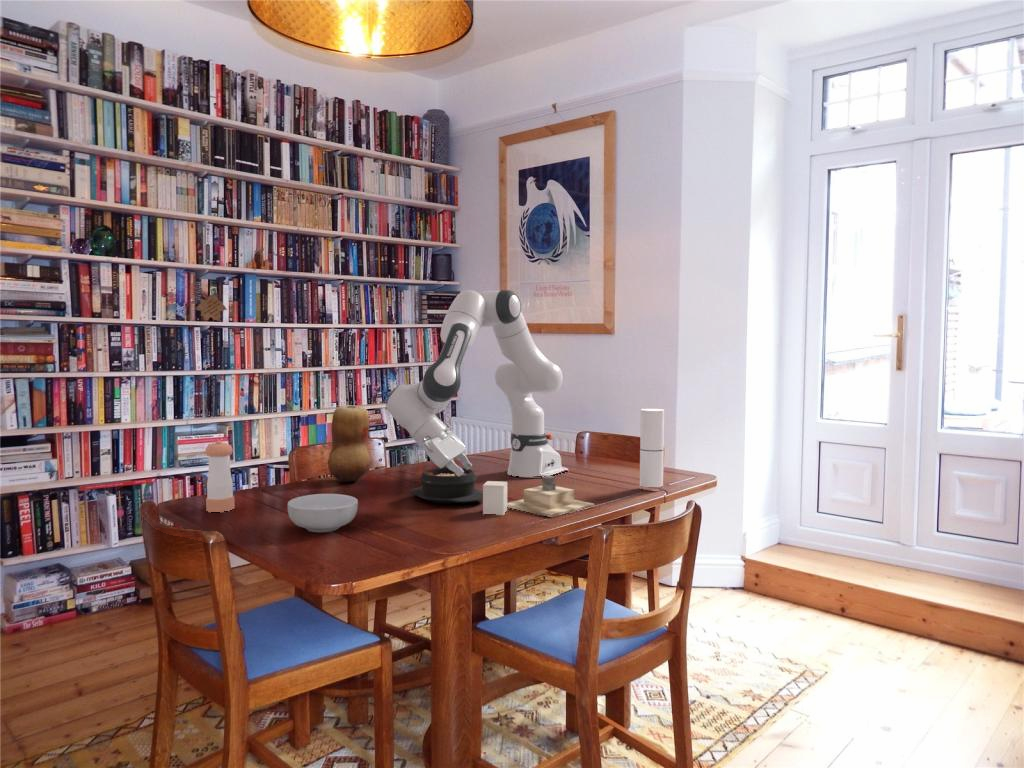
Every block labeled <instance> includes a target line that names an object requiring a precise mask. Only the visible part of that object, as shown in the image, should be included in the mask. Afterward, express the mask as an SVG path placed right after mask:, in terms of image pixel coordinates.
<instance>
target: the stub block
mask: <svg viewBox="0 0 1024 768" xmlns="http://www.w3.org/2000/svg"><path fill="white" fill-rule="evenodd" d="M541 479H542V480H541V481H542V482H541V483H542V485H538V486H534V487H530V488H525V489H523V498H522V499H518V500H513V501H509V502H508V501H507V507H508V508H507V509H510V508H512V509H511V510H514V509H517V510H516V511H518V510H521V511H520V512H522V511H526V512H530V513H534V514H533V515H535V514H538V515H537V516H539V515H543V516H547V517H555V516H558V515H562V514H565V513H569V512H573V511H576V510H579V509H582V508H586V507H589V506H594V507H595V503H592V502H587V501H583V500H578V499H575V489H573V488H568V487H562V486H557V485H556V481H557V480H556V476H546V477H542V478H541ZM526 512H525V513H526ZM530 513H529V514H530ZM543 516H542V517H543ZM547 517H546V518H547ZM555 518H556V517H555Z"/></svg>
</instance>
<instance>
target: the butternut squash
mask: <svg viewBox="0 0 1024 768" xmlns="http://www.w3.org/2000/svg"><path fill="white" fill-rule="evenodd" d="M332 415H333V416H332V419H331V430H330V431H331V445H332V446H331V451H330V453H329V456H328V459H327V468H328V471H329V473H330V474H331V476H332V477H334V478H335V479H336V480H337V481H338V482H340V483H350V482H357V481H358V480H359V479H361V478H362V477H363V476H365V475H366V473H367V472H368V471H369V469H370V467H371V457H370V452H369V450H368V446H367V444H368V443H367V441H368V437H369V436H368V435H369V433H370V415H369V411H368V409H367V408H365V407H364V406H358V405H351V404H347V405H344V404H343V405H339V406H338V407H336V408H335V410H334V411H333V414H332Z"/></svg>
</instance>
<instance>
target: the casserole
mask: <svg viewBox="0 0 1024 768" xmlns="http://www.w3.org/2000/svg"><path fill="white" fill-rule="evenodd" d="M461 468H462V469H463V470H464V473H463V474H462V475H461V476H457V475H456V474H455V472H453V471H451V470H450V469H448V468H447V467H446V466H444V467H443V468H439V467H434V468H430V469H426V470H424V471H422V473H421V476H420V477H419V479H418V480H419V482H420V483H421V486H418V487H413V488H412V489H410V490H409V493H410V494H414V495H415V496H417V497H418V498H421V499H424V500H427V501H428V502H431V503H436V504H442V503H443V504H444V505H445V504H446V505H447V504H449V505H450V503H452V504H460V503H472V502H478V501H482V500H483V491H480V490H478V489H476V488H475V484H476V482H477V480H478V477H477V476H476V473H475V471H474V470H472V469H471V468H470V469H469V470H466V469H465V468H464V467H461ZM443 504H442V505H443Z"/></svg>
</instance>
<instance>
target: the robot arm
mask: <svg viewBox="0 0 1024 768" xmlns="http://www.w3.org/2000/svg"><path fill="white" fill-rule="evenodd" d="M485 327H492V329H493V333H494V336H495V338H496V341H497V344H498V346H499V348H500V349H499V350H500V351H501V354H502V355H503V357H505V358H506V359H507V360H509V361H506V362H502V363H500V364H499V365H498V367H497V368H496V369H495V374H494V380H495V383H496V385H497V387H498V388H499V389H500V390H501V392H503V393H504V395H505V398H507V401H508V403H509V408H510V413H511V427H512V428H511V431H512V432H511V434H510V444H511V448H510V453H509V454H510V455H509V463H508V467H507V475H508V476H511V475H512V477H516V476H519V477H518V478H534V477H533V476H542V477H544V476H550V475H553V474H556V473H559V472H561V471H564V470H568V471H569V468H568V467H565V466H562V457H561V454H560V453H559V452H557V451H556V450H555V449H554V448H553V447H552V446H550V445H549V441H551V440H553V438H554V436H553V434H552V433H545V412H544V409H543V408H542V407H541V406H539V405H538V404H537V403H536V402H535V399H534V397H533V394H534V395H546V394H547V395H549V394H552V393H553V394H554V393H557V392H558V391H559V390H560V388H561V387H562V385H563V379H564V376H563V372H562V371H563V370H562V369H561V367H560V366H558V365H557V364H555V363H554V362H552V361H551V360H549V359H548V358H547V357H546V356H545V355H544V354H543V353H542V352H541V350H540V349H539V348H538V347H537V346H536V343H535V342H534V340H533V337H532V335H531V332H530V329H529V327H528V323H527V322H526V318H525V317H524V314H523V312H522V304H521V299H520V297H519V296H518V295H517V293H515V291H512V290H509V289H501V290H485V291H481V292H477V291H476V290H472V289H470V290H469V289H467V290H462V291H461V292H459V293H458V294H457V296H456V297H455V298H454V300H453V301H452V303H451V305H450V306H449V308H448V310H447V311H446V314H445V316H444V319H443V322H442V325H441V328H440V329H441V330H440V334H439V336H440V339H441V341H442V343H444V344H443V346H442V349H441V351H440V354H439V357H438V359H437V360H435V362H434V363H433V364H431V365H430V366H429V367H428V368H427V369H426V371H425V372H424V376H423V377H422V379H421V381H419V382H415V383H412V384H411V383H410V384H403V383H400V384H398V385H397V386H395V387H394V389H393V390H392V391H391V392H390V394H389V395H388V397H387V399H386V400H385V401H386V402H385V407H386V409H387V412H389V414H390V415H391V417H393V419H394V420H395V421H396V422H397V424H398V425H399V426H400V427H402V428H404V429H405V430H406V431H407V432H408V433H409V435H410V437H411V439H413V440H414V441H415V442H416V443H417V444H418V446H419V447H420V448H421V449H422V450H423V451H424V452H425V454H426V455H427V456H428V457H429V459H430V460H431V462H433V463H434V465H435V466H436V467H437V468H443V467H447V468H448V469H450V470H451V471H453V472H455V474H456V475H457V476H461V475H462V474H463V473H464V470H463V469H462V468H465V469H466V470H469V469H470V470H471V468H472V467H473V464H472V462H470V461H469V459H468V456H466V454H465V452H466V451H467V448H466V446H465V445H464V442H462V441H461V439H460V438H459V437H458V436H457V435H456V433H454V431H453V430H451V428H452V427H451V425H450V424H449V423H447V422H445V421H442V420H441V419H439V417H438V416H437V414H439V413H441V412H443V411H444V410H445V409H446V407H447V406H448V405H449V403H450V402H451V400H452V398H454V396H455V395H456V394H457V393H458V392H459V390H460V388H461V383H462V381H461V379H462V377H461V365H462V362H463V359H464V357H465V354H466V351H467V350H468V349H470V348H471V347H472V345H473V344H474V343H475V340H476V339H477V337H478V335H479V333H480V331H481V328H485ZM548 440H549V441H548ZM456 459H457V461H459V462H460V463H461V464H462V466H463V467H461V466H459V465H457V464H456V462H455V460H456Z"/></svg>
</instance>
